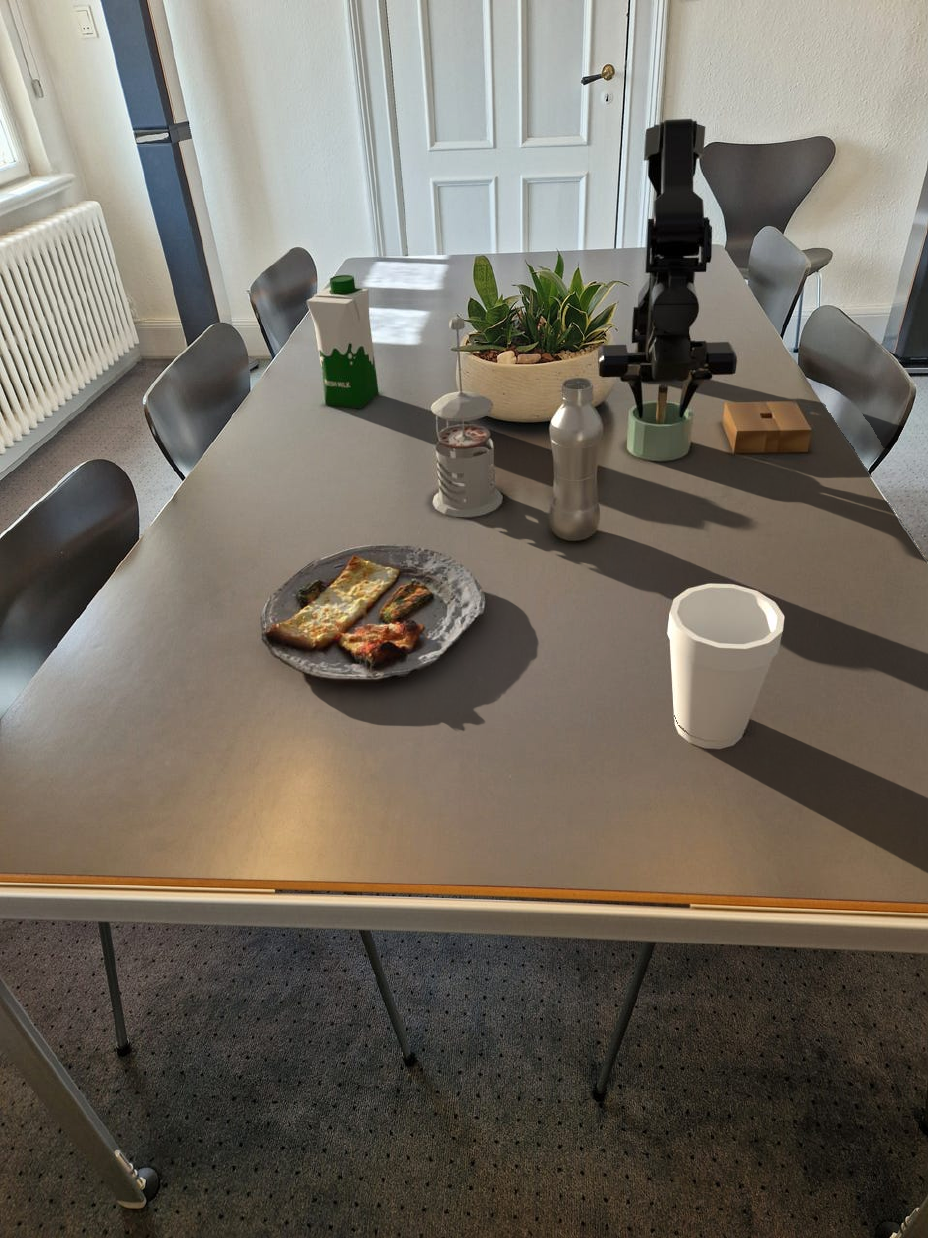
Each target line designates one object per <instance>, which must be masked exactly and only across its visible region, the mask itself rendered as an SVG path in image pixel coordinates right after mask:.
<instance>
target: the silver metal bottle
mask: <svg viewBox="0 0 928 1238" xmlns="http://www.w3.org/2000/svg"><path fill="white" fill-rule="evenodd" d="M594 397H595V395H594V382H593V381H592V380H591V379H589V378H585V377H572V378H568V379H565V380H564V381H563V382H562V383H561V393H560V401H561V402H562V404H561V405H560V407H559V408H558V409H557V410H556V412H555V413H554V415H553V416H552V418H551V420H550V424H549V439H550V444H551V451H552V464H553V487H552V497H551V502H550V506H549V512H548V520H549V524H550V525H549V527H550V529H551V531H552V532H553V534H554V535H555V536H557V537H558V538H560V539H562V540H565V541H571V542H572V541H573V542H574V541H575V542H576V541H583V540H586V539H588V538H591V536H593V535H594V533H595V532H596V531H597V530H598V528H599V525H600V520H601V509H600V502H599V498H598V483H597V482H598V480H597V477H598V476H597V475H598V466H599V465H598V464H599V456H600V451H601V444H602V439H603V433H604V423H603V420H602V417H601V415H600V414H599V411H598V410H597V409H596V407H595V406H594V404H592V402H593V401H594V400H595V399H594Z"/></svg>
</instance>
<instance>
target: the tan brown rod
mask: <svg viewBox="0 0 928 1238" xmlns="http://www.w3.org/2000/svg"><path fill="white" fill-rule="evenodd" d="M657 390H658V392H657V400H656V401H657V413H656V419H657V425H661V424H664V419H665V414H666V403H667V401H668V391H669V386H668V385H667V384H659V385H658V389H657Z"/></svg>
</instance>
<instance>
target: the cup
mask: <svg viewBox="0 0 928 1238" xmlns="http://www.w3.org/2000/svg"><path fill="white" fill-rule="evenodd" d="M657 401H658V400H649V401H643V416H642V418H639V414H638V410H637V406H636V404H635V405H633V406H632V407H631V408H630V409H629V410H628V415H627V416H628V418H627V430H626V431H627V433H626V449H627V451H628V453H630V454H631V455H633V456H634V457H636V458H639V459H642V460H646V461H651V462H667V461H675V460H677V459H680V458H683V457H684V456H686V455H687V454H688V453H689V451H690V447H691V444H692V443H691V441H692V433H693V424H694V417H695V416H694V412H693V410H692V409H691V408H690V407H689V406H688V407H687V409H686V411H685V413H684V415H683V417H679V405H680V402H676V401H669V400H667V403H666V414H665V419H664V424H661V425H657V419H656V413H657Z"/></svg>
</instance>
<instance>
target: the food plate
mask: <svg viewBox="0 0 928 1238" xmlns="http://www.w3.org/2000/svg"><path fill="white" fill-rule="evenodd" d="M485 608H486V596H485V593H484V591H483V587H482V586H481V584H480V583H479V582H478V580H477V579H476V578H475V577H474V575H473V574H472V572H471V571H470V569H468V568H467V567H466V566H464V565H463V564H462V563H460V562H459V561H456V560H455V559H454V558H452V556H451V555H450V556H447V555H446V554H443V553H441V552H439V551H435V550H431V549H425V548H422V547H418V546H415V545H412V544H384V543H383V544H382V543H381V544H380V543H379V544H368V545H362V546H353V547H351V548H347V549H343V550H339V551H336V552H335V553H333V554H330V555H328V556H324V557H321V558H318V559H315V560H312V561H311V562H309V563H308V564H307V565H305V566H304V567H302V568H301V569H300V570H299V571H297V572H296V573H295V574H293V575H292V576H291V578H289V579H288V580H287V581H286V582H284V583H283V584H282V586H280V587H279V588H278V589H277V590H275V591H274V592H273V595H272V596H269V598H268V599H267V601H266V602H265V603H264V605H263V607H262V610H261V614H260V627H261V641H262V643H263V644H264V645H265V646H266V647H267V649H268V651H269V653H270V655H271V656H273V658H275V659H277V660H279V661H280V662H281V663H282V664H284V665H286V666H288V667H289V668H292V669H293V670H295V671H297V672H300V673H301V674H304V675H305V676H306V677H308V678H312V679H316V680H319V681H320V680H321V681H325V682H338V683H339V682H362V683H371V684H372V683H376V682H379V681H382V682H384V681H386V680H387V681H388V680H391V679H392V682H395V678H394V677H393V676H395V677H396V678H402V677H406V676H407V675H408V674H409V673H410V672H411V671H413V670H417V671H418V672H419V671H422V670H424V669H426V668H427V667H429V666H430V665H431V664H433V663H434V662H436V661H437V660H438V659H441V657H440V656H442V655H443V654H444V653H445V652H446V651H447V650H449V648H450V647H452V646H453V644H454V643H456V642H457V641H458V640H459V639H460V637H461V635H462V634H463V633H464V632H465V631H466V630H467V629H468V628H470V627H471V625H472V623H473V622H474V621H475V619H476V618H477V617H479V616H480V615H483V614H484V612H485Z"/></svg>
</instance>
